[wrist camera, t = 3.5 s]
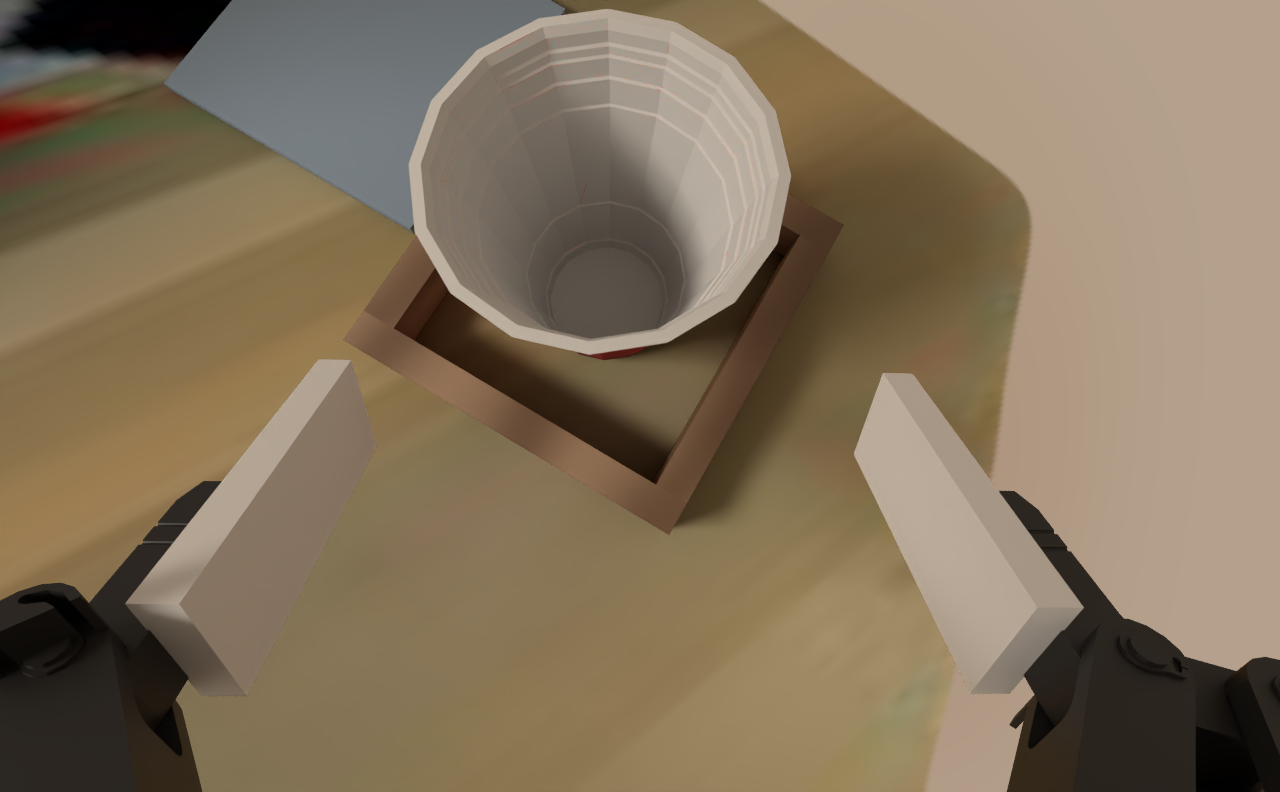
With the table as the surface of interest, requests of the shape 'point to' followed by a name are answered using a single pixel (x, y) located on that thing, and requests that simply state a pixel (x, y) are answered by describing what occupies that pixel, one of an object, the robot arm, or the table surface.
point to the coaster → (343, 80)
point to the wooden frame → (392, 342)
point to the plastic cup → (599, 182)
